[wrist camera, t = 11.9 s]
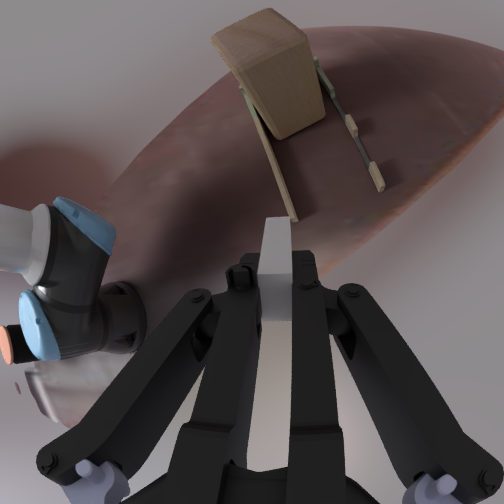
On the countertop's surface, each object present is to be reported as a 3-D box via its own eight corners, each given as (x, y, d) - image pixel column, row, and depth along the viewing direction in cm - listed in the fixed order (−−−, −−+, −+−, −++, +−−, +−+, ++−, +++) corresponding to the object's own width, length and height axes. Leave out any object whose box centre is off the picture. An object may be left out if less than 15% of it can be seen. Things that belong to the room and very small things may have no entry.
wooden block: (300, 83, 44) (269, 3, 25) (328, 118, 42) (309, 33, 23) (254, 106, 46) (206, 35, 28) (278, 144, 44) (233, 70, 25)
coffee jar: (53, 316, 62) (3, 319, 46) (65, 350, 60) (13, 358, 43) (42, 330, 65) (-4, 333, 48) (53, 361, 62) (6, 369, 45)
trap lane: (293, 223, 42) (286, 216, 38) (248, 100, 47) (238, 85, 42) (383, 191, 38) (387, 180, 33) (319, 73, 43) (315, 56, 38)
